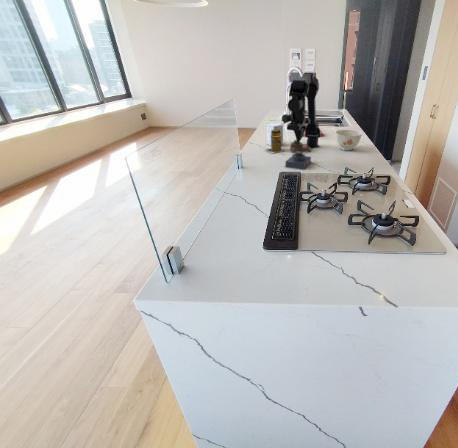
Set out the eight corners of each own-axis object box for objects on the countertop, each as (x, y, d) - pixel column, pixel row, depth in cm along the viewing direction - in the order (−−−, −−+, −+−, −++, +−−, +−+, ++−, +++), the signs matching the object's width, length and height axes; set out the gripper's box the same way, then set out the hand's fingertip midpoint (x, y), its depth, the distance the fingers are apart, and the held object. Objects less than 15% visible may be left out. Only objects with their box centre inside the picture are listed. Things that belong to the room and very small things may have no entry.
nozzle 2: (296, 154, 152) (296, 150, 151) (303, 155, 151) (303, 151, 150) (293, 156, 149) (293, 152, 148) (300, 157, 148) (301, 153, 147)
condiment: (283, 151, 172) (283, 130, 166) (271, 153, 168) (270, 132, 162) (277, 148, 177) (277, 128, 171) (265, 150, 173) (264, 130, 167)
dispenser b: (306, 147, 179) (306, 140, 177) (309, 151, 172) (310, 144, 170) (290, 148, 176) (290, 141, 174) (293, 152, 170) (293, 145, 168)
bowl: (330, 150, 175) (331, 133, 170) (339, 144, 187) (340, 128, 182) (355, 154, 169) (357, 137, 164) (363, 147, 181) (365, 131, 176)
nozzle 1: (299, 142, 174) (299, 139, 173) (300, 144, 171) (300, 141, 170) (293, 143, 173) (293, 139, 172) (294, 144, 170) (294, 141, 169)
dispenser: (293, 159, 159) (293, 151, 156) (310, 162, 156) (311, 153, 153) (285, 166, 149) (285, 157, 146) (303, 169, 146) (303, 159, 144)
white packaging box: (274, 146, 180) (273, 126, 173) (267, 144, 184) (266, 124, 178) (283, 144, 184) (283, 124, 177) (276, 142, 188) (276, 122, 182)
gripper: (290, 104, 148) (290, 135, 156) (276, 110, 133) (277, 143, 141) (311, 106, 145) (310, 137, 153) (298, 112, 129) (298, 146, 138)
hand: (298, 141), depth 146 cm, fingers closed
